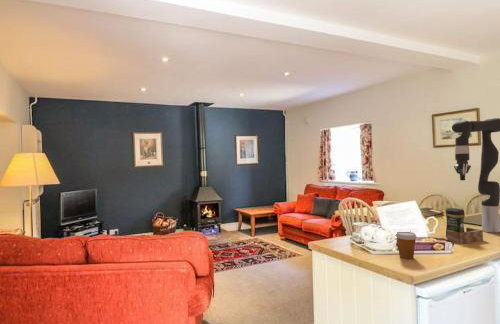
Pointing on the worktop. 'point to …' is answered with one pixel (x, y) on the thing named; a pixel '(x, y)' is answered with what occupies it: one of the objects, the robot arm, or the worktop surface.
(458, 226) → the coffee jar
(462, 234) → the bracket
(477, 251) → the worktop surface
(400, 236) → the disposable coffee cup
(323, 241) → the worktop surface
